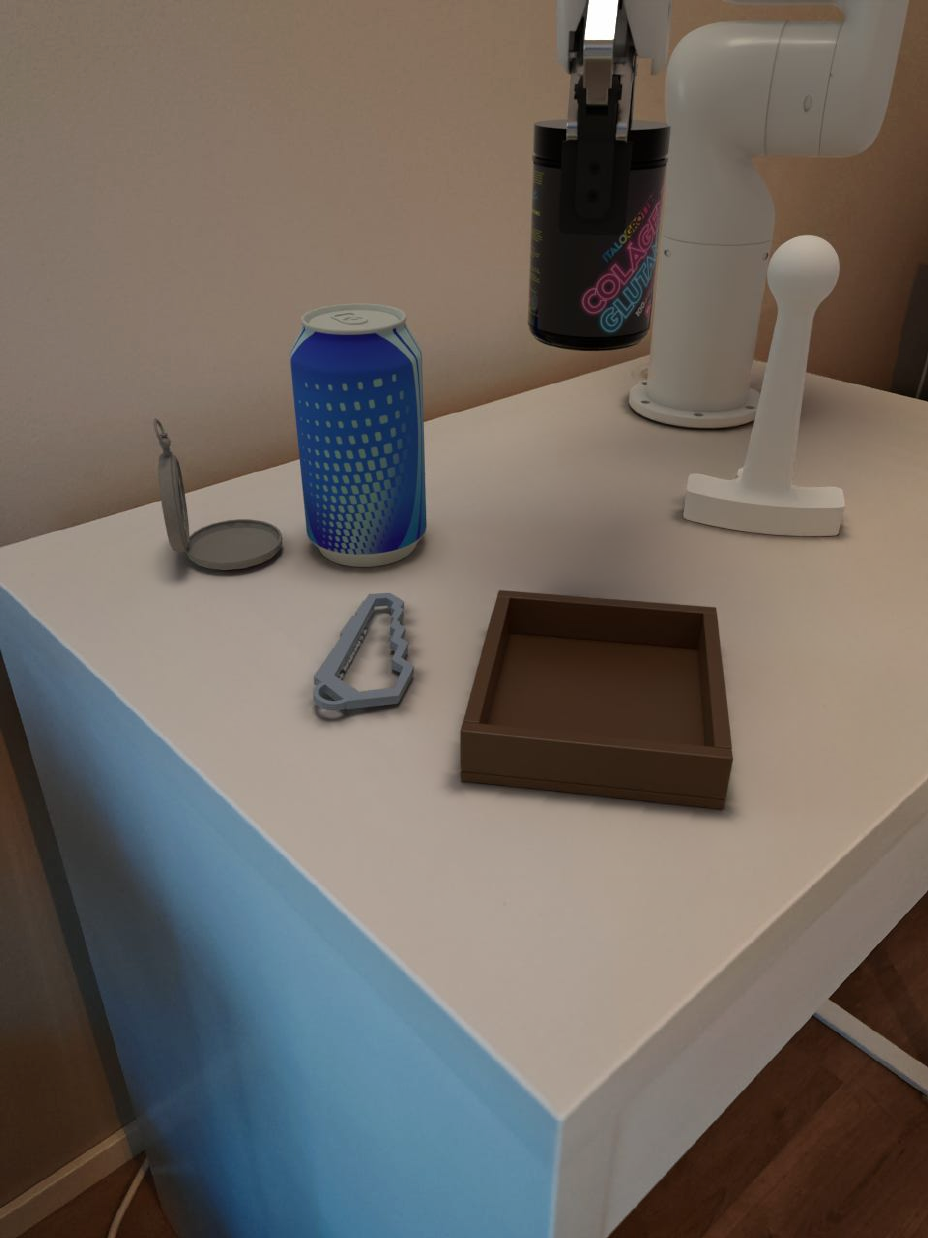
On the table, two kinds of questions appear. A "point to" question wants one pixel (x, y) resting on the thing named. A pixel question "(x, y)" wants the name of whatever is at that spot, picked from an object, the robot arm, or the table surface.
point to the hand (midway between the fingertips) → (596, 217)
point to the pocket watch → (215, 542)
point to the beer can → (360, 432)
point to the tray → (600, 700)
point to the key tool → (344, 654)
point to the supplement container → (595, 250)
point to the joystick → (778, 415)
